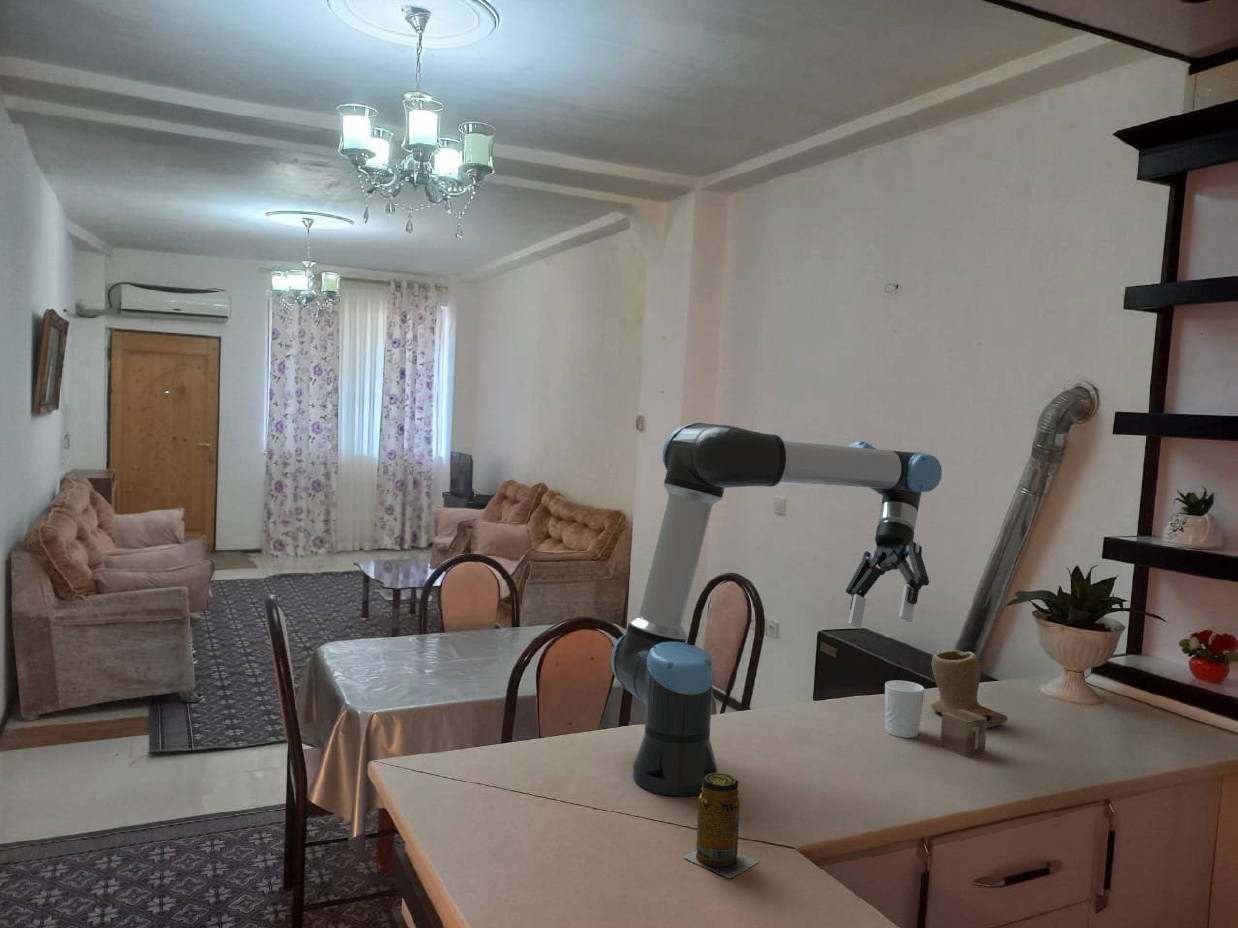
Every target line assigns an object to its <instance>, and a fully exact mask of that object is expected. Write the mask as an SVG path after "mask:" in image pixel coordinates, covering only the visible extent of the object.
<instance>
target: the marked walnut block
mask: <svg viewBox="0 0 1238 928" xmlns="http://www.w3.org/2000/svg"><path fill="white" fill-rule="evenodd" d="M986 727H987V718H985V717H982V716H979V715H977V714H974V713H971V712H969V711H966V710H963V709H960V710H955V711H950V712H945V713H941V726H940V729H941V730H940V743H939V745H940V746H941V747H940V748H943V749H946V750H948V751H951V752H952V753H954V754H957V755H959V756H962V757H963V758H966V757H970V756H974V755H978V754H979V755H980V754H983V753H984V754H985V752H986V742H987V741H986V739H987V728H986Z"/></svg>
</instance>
